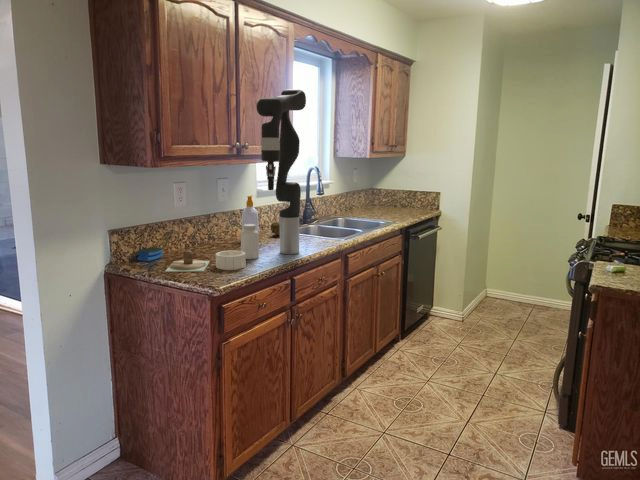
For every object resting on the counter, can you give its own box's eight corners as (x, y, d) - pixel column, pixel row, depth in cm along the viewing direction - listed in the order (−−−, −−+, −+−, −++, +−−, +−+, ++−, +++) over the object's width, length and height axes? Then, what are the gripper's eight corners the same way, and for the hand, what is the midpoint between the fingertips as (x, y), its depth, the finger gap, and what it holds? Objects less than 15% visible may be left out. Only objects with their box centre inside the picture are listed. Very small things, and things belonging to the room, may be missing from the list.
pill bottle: (251, 260, 214) (250, 226, 211) (237, 258, 218) (236, 225, 215) (262, 257, 221) (262, 224, 218) (248, 254, 225) (248, 222, 222)
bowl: (218, 263, 208) (217, 250, 207) (246, 262, 210) (246, 250, 208) (214, 270, 197) (214, 256, 196) (244, 269, 198) (244, 256, 197)
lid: (174, 261, 208) (174, 248, 207) (207, 261, 209) (207, 247, 208) (167, 270, 194) (166, 255, 193) (203, 269, 195) (202, 255, 194)
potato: (291, 234, 278) (291, 220, 276) (277, 238, 267) (277, 223, 265) (279, 233, 282) (279, 219, 280) (265, 236, 271) (265, 222, 270)
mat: (174, 262, 209) (174, 261, 209) (209, 261, 211) (209, 260, 210) (165, 272, 193) (165, 270, 193) (203, 271, 194) (203, 270, 194)
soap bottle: (260, 239, 263) (259, 195, 259) (256, 242, 254) (255, 197, 250) (245, 238, 264) (244, 194, 260) (240, 241, 255) (239, 196, 251)
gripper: (279, 149, 191) (280, 190, 194) (279, 149, 205) (280, 187, 208) (260, 149, 190) (261, 190, 193) (261, 149, 204) (262, 187, 207)
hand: (271, 189), depth 201 cm, fingers open, 8 cm apart
